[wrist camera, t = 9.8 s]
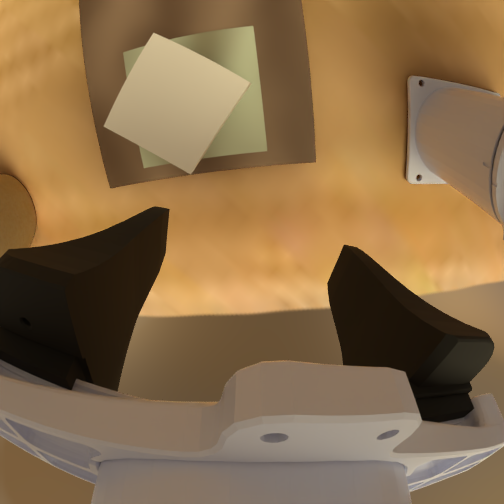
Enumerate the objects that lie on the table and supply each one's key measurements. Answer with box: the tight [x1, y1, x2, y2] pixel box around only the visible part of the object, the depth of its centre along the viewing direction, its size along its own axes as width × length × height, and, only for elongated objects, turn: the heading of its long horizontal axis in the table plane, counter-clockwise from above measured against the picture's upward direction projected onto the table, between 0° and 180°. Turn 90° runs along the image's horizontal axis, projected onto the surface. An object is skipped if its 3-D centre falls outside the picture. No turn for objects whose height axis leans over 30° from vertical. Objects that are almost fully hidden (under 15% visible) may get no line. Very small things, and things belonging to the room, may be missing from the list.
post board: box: [79, 0, 316, 188], centre depth 12 cm, size 14×22×5 cm, turn 6°
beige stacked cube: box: [104, 33, 252, 174], centre depth 14 cm, size 5×5×5 cm
